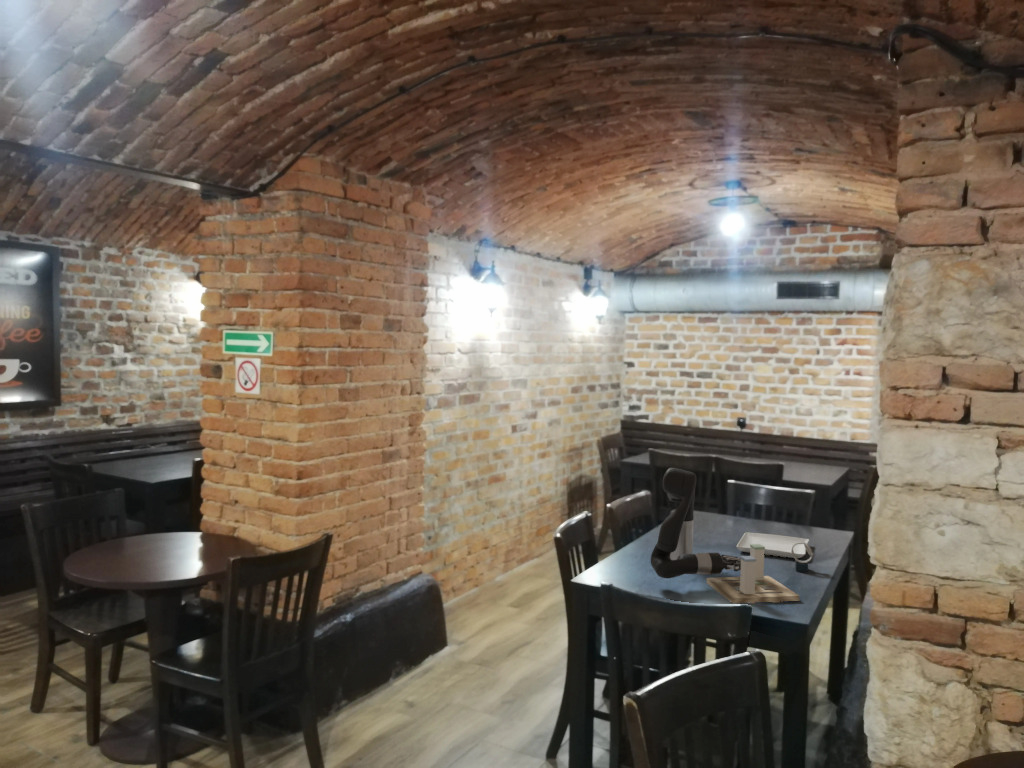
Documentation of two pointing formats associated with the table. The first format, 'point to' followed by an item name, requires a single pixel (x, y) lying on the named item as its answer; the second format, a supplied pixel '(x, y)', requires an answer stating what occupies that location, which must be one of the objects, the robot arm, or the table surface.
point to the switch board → (763, 590)
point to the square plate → (773, 544)
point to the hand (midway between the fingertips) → (752, 562)
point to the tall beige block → (758, 560)
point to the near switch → (747, 575)
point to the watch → (801, 564)
